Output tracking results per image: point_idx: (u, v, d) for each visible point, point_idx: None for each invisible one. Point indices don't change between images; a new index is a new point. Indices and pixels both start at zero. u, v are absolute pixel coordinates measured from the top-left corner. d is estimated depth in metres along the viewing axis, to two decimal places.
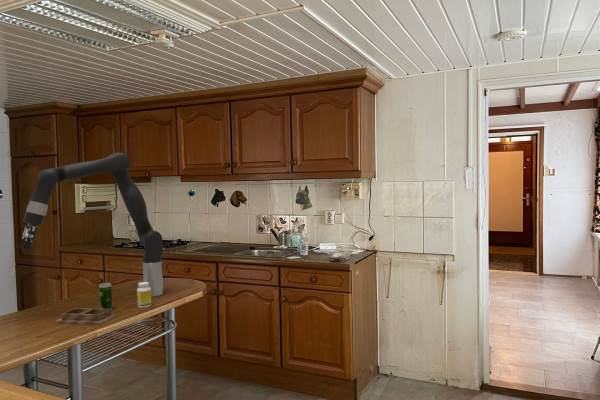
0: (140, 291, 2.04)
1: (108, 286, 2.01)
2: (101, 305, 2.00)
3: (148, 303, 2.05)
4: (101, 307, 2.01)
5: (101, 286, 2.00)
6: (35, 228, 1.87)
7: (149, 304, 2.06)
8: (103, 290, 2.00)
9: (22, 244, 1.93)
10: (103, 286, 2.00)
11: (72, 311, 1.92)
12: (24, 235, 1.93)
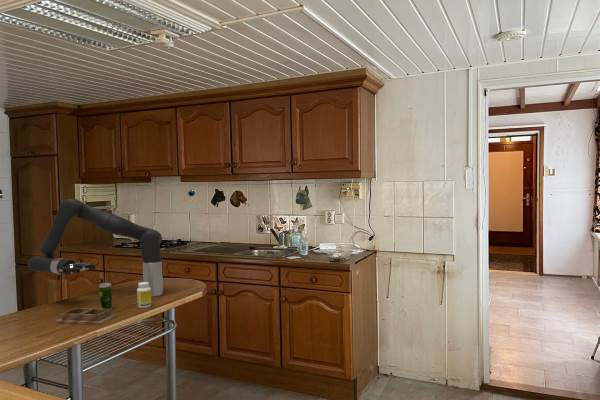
0: (140, 291, 2.04)
1: (108, 286, 2.01)
2: (101, 305, 2.00)
3: (148, 303, 2.05)
4: (101, 307, 2.01)
5: (101, 286, 2.00)
6: (59, 268, 2.04)
7: (149, 304, 2.06)
8: (103, 290, 2.00)
9: (91, 268, 2.11)
10: (103, 286, 2.00)
11: (72, 311, 1.92)
12: (84, 268, 2.12)
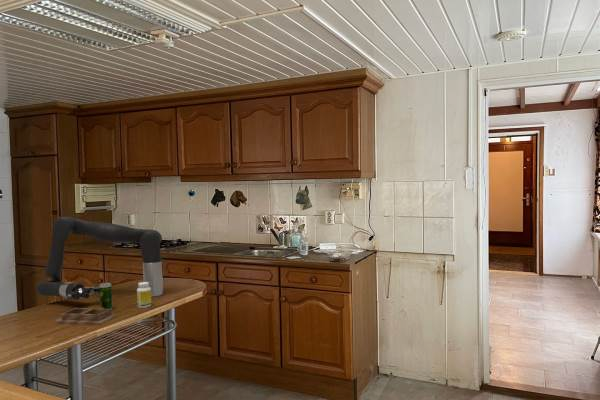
0: (140, 291, 2.04)
1: (108, 286, 2.01)
2: (101, 305, 2.00)
3: (148, 303, 2.05)
4: (101, 307, 2.01)
5: (101, 286, 2.00)
6: (68, 293, 2.03)
7: (149, 304, 2.06)
8: (103, 290, 2.00)
9: None
10: (103, 286, 2.00)
11: (72, 311, 1.92)
12: (93, 292, 2.10)
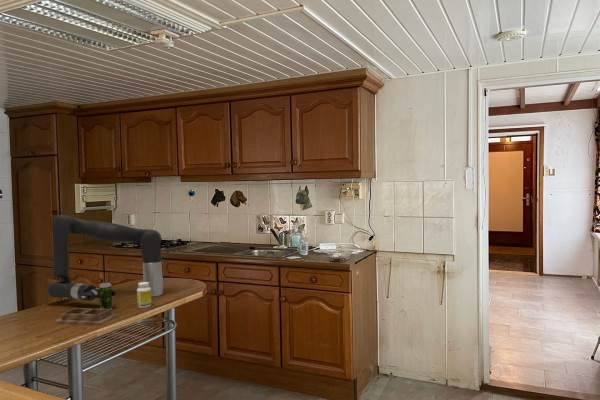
0: (140, 291, 2.04)
1: (108, 286, 2.01)
2: (101, 305, 2.00)
3: (148, 303, 2.05)
4: (101, 307, 2.01)
5: (101, 286, 2.00)
6: (82, 295, 1.99)
7: (149, 304, 2.06)
8: (103, 290, 2.00)
9: None
10: (103, 286, 2.00)
11: (72, 311, 1.92)
12: None
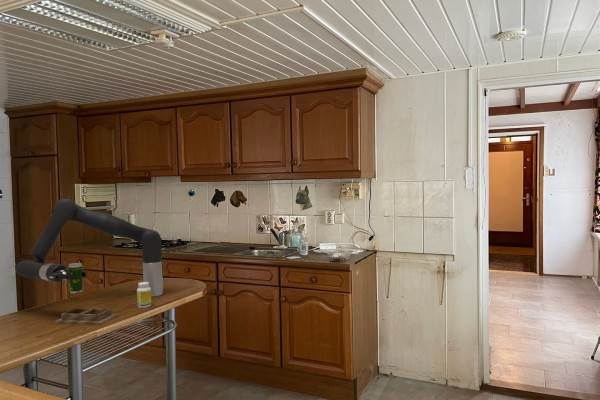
0: (140, 291, 2.04)
1: (78, 266, 1.88)
2: (70, 286, 1.87)
3: (148, 303, 2.05)
4: (70, 288, 1.87)
5: (70, 266, 1.87)
6: (50, 275, 1.86)
7: (149, 304, 2.06)
8: (72, 270, 1.87)
9: None
10: (72, 266, 1.87)
11: (72, 311, 1.92)
12: None
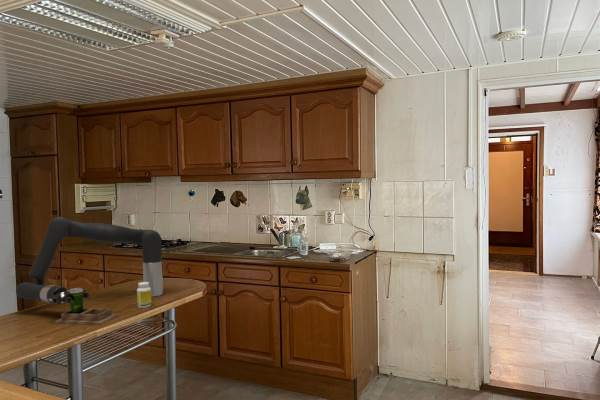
0: (140, 291, 2.04)
1: (79, 292, 1.88)
2: (71, 312, 1.87)
3: (148, 303, 2.05)
4: None
5: (71, 292, 1.87)
6: (49, 298, 1.86)
7: (149, 304, 2.06)
8: (73, 296, 1.87)
9: (84, 296, 1.93)
10: (73, 292, 1.87)
11: None
12: None
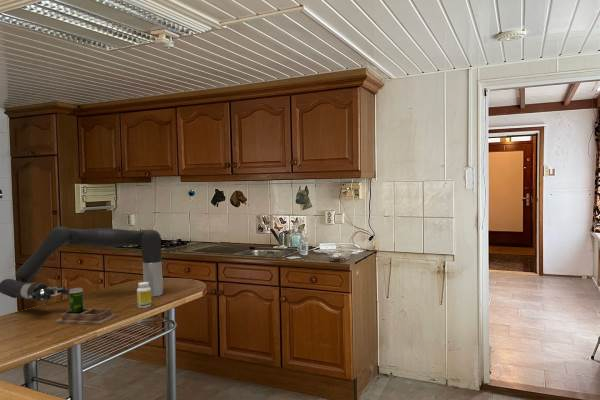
0: (140, 291, 2.04)
1: (79, 292, 1.88)
2: (71, 312, 1.87)
3: (148, 303, 2.05)
4: None
5: (71, 292, 1.87)
6: (29, 295, 1.92)
7: (149, 304, 2.06)
8: (73, 296, 1.87)
9: (64, 293, 1.98)
10: (73, 292, 1.87)
11: None
12: (56, 293, 1.99)
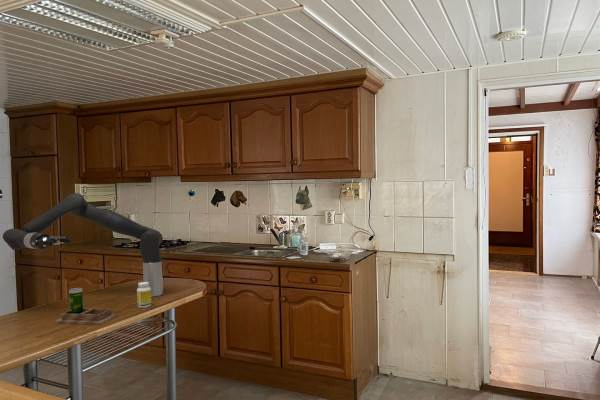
0: (140, 291, 2.04)
1: (79, 291, 1.88)
2: (71, 312, 1.87)
3: (148, 303, 2.05)
4: None
5: (71, 292, 1.87)
6: (32, 242, 1.97)
7: (149, 304, 2.06)
8: (73, 296, 1.87)
9: (66, 241, 2.03)
10: (73, 292, 1.87)
11: None
12: (58, 242, 2.04)
